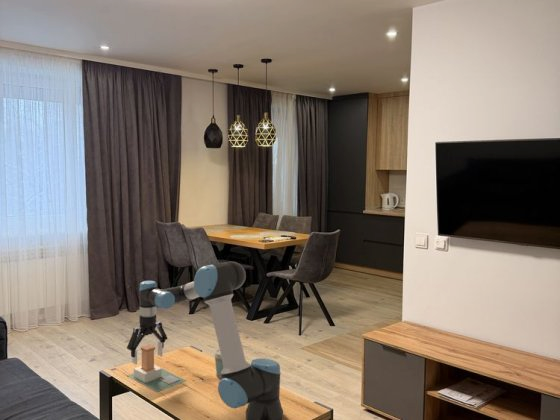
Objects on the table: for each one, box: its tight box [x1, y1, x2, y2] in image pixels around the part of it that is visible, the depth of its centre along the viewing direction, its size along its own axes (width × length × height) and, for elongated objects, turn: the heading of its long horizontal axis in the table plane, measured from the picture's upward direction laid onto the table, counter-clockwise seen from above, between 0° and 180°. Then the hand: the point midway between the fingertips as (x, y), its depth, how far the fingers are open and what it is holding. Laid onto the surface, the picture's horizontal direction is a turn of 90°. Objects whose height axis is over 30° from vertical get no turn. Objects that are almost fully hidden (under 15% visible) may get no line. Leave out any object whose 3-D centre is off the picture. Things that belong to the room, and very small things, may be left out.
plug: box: [140, 344, 156, 372], centre depth 226 cm, size 5×5×14 cm
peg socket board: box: [126, 364, 187, 393], centre depth 226 cm, size 24×16×6 cm, turn 49°
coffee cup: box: [213, 349, 224, 380], centre depth 233 cm, size 8×8×12 cm
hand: (147, 359), depth 226 cm, fingers open, 13 cm apart
